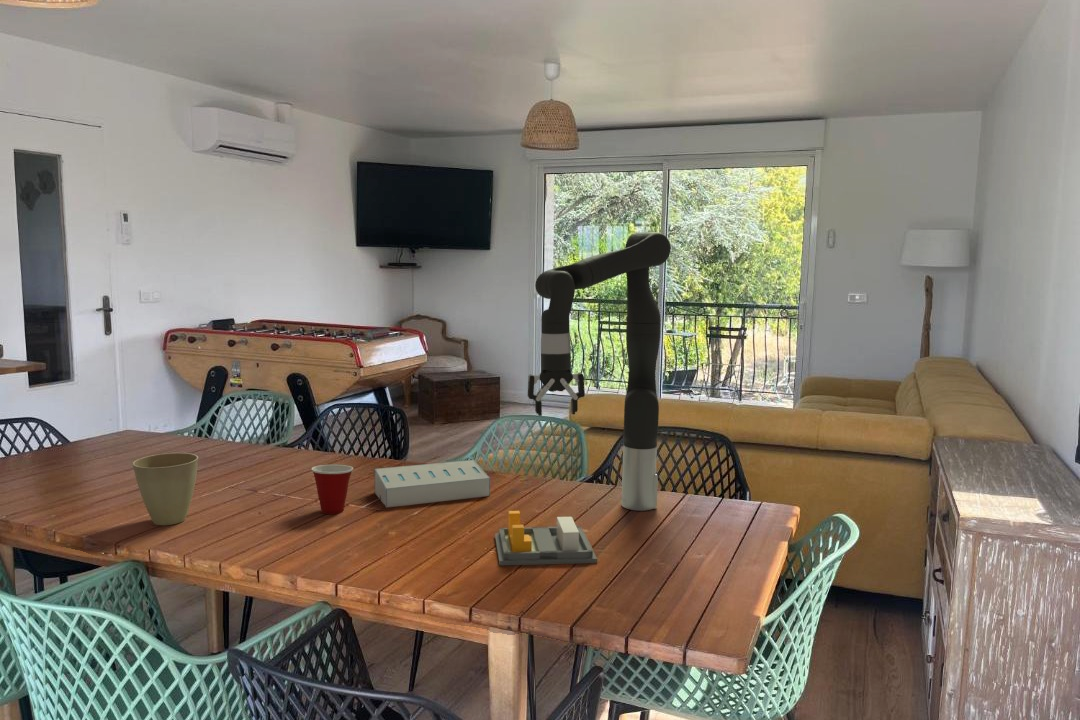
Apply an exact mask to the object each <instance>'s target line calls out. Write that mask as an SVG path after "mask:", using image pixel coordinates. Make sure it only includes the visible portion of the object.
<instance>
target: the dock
mask: <svg viewBox="0 0 1080 720" xmlns="http://www.w3.org/2000/svg"><path fill="white" fill-rule="evenodd" d="M498 529H499V532H495V533H494V540H495V546H496V552H497V557H498V564H499V566H527V565H528V566H531V565H532V566H533V565H536V566H537V565H538V566H539V565H569V564H571V565H572V564H573V565H574V564H576V565H577V564H597V563H598V558H597V557H598V556H597V555H596V554H595V553H596V552H595V551H594V549H593V547H592V544H591V543H590V541H589V539H588V537H587V535H586V533H585V531H584V530H583V529H582V526H580V525H576V523H575V521H574V518H573V516H557V517H556V526H528V527H525V526H524V535H529V536H530V537H531V540H532V551H528V552H512V551H511V547H510V542H509V538H508V527H498Z"/></svg>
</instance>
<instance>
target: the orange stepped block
mask: <svg viewBox="0 0 1080 720" xmlns="http://www.w3.org/2000/svg"><path fill="white" fill-rule="evenodd" d="M524 527H525V526H524V524H521V512H520V510H508V527H507V528H508V538H509V542H510V547H511V551H512V552H528V551H532V540H531V537H530V536H529V535H524Z"/></svg>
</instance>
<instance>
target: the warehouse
mask: <svg viewBox="0 0 1080 720" xmlns="http://www.w3.org/2000/svg"><path fill="white" fill-rule="evenodd" d="M374 493H375V495H376V496H377V498H378V499H379V500H380V501H381V502H382V504H383V505H384V506H385V508H386V509H387V508H393V507H395V508H396V507H402V506H411V505H412V506H413V505H421V504H429V503H438V502H446V501H447V502H448V501H455V500H464V499H474V498H481V497H483V498H484V497H490V496H491V477H490V476H489V475H488V474H487V473H486V471H484V470H483V469H482V467H481V466H480V465H479V464H478V463H477V461H476V460H474V459H466V460H456V461H455V460H454V461H444V462H433V463H432V462H431V463H425V464H424V463H423V464H414V465H412V464H411V465H402V466H399V465H398V466H390V467H382V468H381V467H379V468H374Z"/></svg>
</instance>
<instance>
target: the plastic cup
mask: <svg viewBox="0 0 1080 720" xmlns="http://www.w3.org/2000/svg"><path fill="white" fill-rule="evenodd" d="M311 471H312V472H313V477H314V480H315V486H316V490H317V496H318V501H319V506H320V511H321V513H323V514H327V515H334V514H335V515H336V514H340V513H342V512H344V509H345V506H346V499H347V496H348V495H347V494H348V489H349V483H350V478H351V475H352V472H353V471H354V467H353V466H351V465H344V464H322V465H321V464H320V465H316V466H312V467H311Z"/></svg>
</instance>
